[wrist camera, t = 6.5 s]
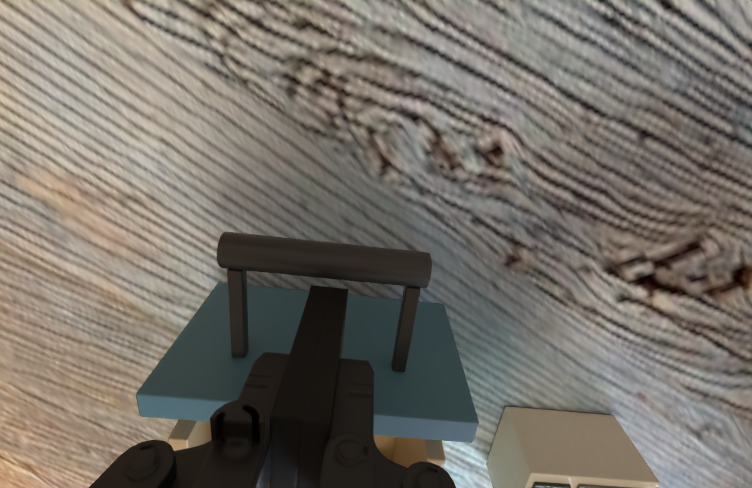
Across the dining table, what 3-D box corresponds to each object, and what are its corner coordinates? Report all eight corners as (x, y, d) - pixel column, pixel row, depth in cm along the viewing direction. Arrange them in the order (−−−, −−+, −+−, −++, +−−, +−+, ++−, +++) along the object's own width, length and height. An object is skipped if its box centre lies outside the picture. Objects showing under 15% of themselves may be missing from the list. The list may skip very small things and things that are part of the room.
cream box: (613, 415, 28) (663, 486, 23) (585, 470, 30) (625, 545, 25) (504, 405, 27) (532, 476, 22) (485, 462, 30) (506, 537, 25)
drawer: (212, 184, 20) (108, 257, 12) (464, 212, 20) (518, 297, 13) (229, 464, 28) (175, 611, 21) (405, 478, 29) (416, 624, 21)
